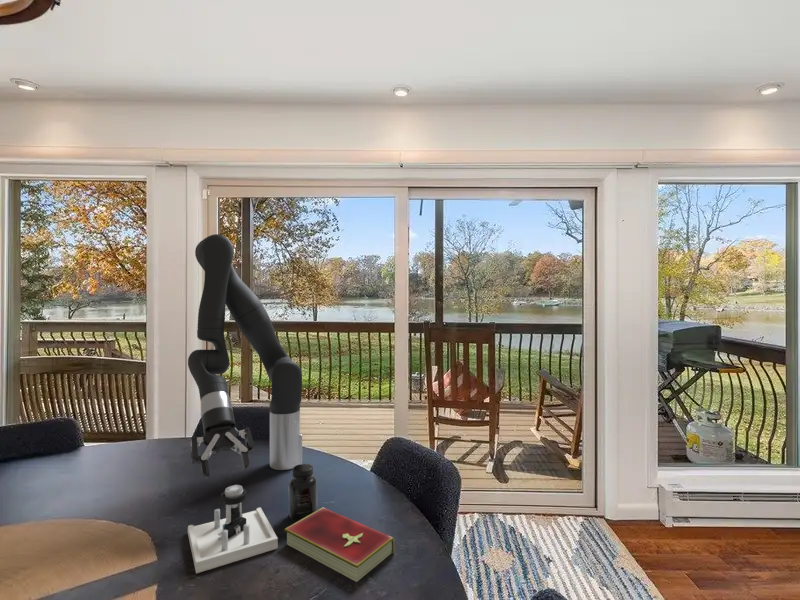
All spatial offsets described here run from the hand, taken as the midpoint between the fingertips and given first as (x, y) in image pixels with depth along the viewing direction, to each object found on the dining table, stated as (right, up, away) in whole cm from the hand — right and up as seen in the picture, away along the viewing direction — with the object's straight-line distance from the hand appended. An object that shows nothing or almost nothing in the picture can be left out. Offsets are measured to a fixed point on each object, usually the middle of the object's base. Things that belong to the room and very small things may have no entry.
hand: (227, 473), depth 103 cm
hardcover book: (+28, -13, -10) cm, 32 cm away
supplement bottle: (+17, -12, +3) cm, 21 cm away
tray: (+4, -12, -7) cm, 15 cm away
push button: (+4, -11, -7) cm, 14 cm away
